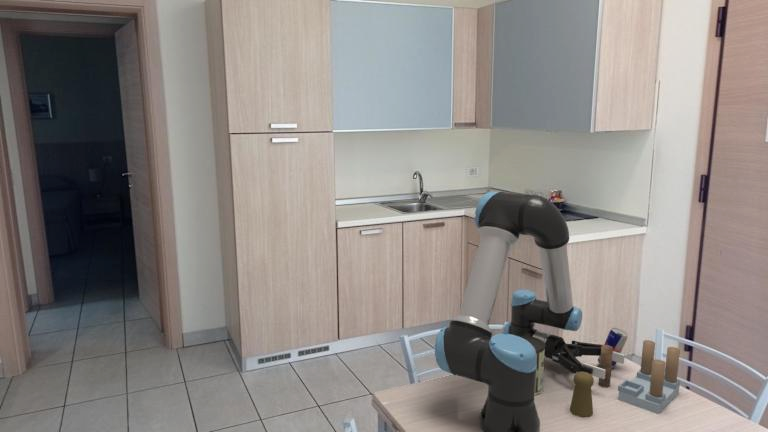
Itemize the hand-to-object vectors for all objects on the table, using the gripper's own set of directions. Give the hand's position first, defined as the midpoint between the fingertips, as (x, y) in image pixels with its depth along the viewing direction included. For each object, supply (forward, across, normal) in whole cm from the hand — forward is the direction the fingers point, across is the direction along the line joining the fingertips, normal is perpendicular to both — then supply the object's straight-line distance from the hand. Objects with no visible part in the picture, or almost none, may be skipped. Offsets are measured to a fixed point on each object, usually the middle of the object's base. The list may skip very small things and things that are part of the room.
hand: (614, 366), depth 166 cm
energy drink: (-7, -12, -6) cm, 15 cm away
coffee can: (-19, +18, -7) cm, 27 cm away
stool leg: (-3, 0, -7) cm, 7 cm away
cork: (-1, +19, -7) cm, 20 cm away
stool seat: (+9, -2, -7) cm, 12 cm away
